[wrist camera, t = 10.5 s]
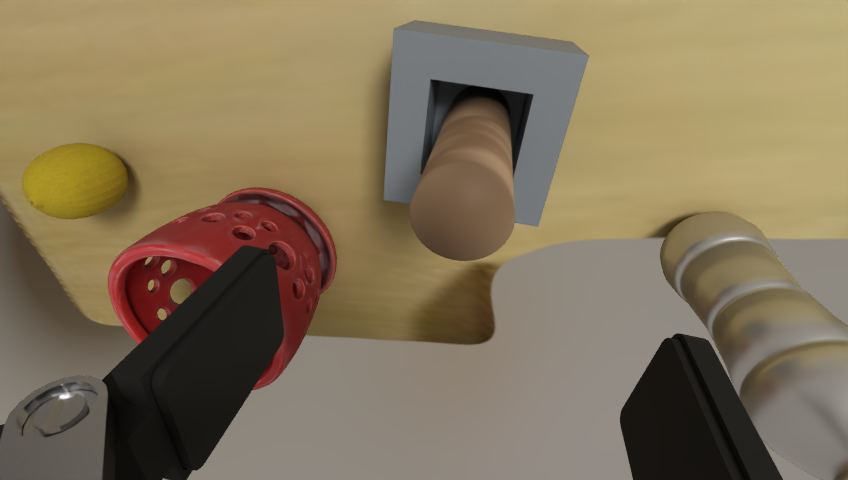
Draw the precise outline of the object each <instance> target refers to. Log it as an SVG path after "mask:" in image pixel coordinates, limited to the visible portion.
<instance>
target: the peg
mask: <svg viewBox="0 0 848 480" xmlns="http://www.w3.org/2000/svg"><path fill="white" fill-rule="evenodd" d="M410 221H411V224H412V227H413V230H414V232H415V234H416V236H417V237H418V238H419V240H420V241H421V242H422V243H423V244H424V245H425V246H426V247H427V248H428V249H430V250H431V251H432V252H434V253H436V254H438V255H440V256H442V257H445V258H448V259H452V260H459V261H470V260H476V259H480V258H484V257H486V256H488V255H491V254H492V253H494V252H496V251H497V250H498V249H499V248H501V247H502V246H503V245H504V244H505V242H506V241H507V240H508V238H509V236H510V235H511V233H512V230H513V227H514V222H515V208H514V187H513V167H512V147H511V127H510V110H509V105H508V103H507V100H506V99H505V97H504V96H503V95H502V94H501V93H500V92H499V91H498V90H497V89H494V88H487V87H481V86H474V85H473V86H470V87H467V88H465V89H464V90H462V91H461V92H460V93H459V94H458V95H457V96H456V97H455V99H454V100H453V102H452V104H451V106H450V109H449V111H448V114H447V116H446V118H445V121H444V123H443V126H442V128H441V131H440V133H439V135H438V138H437V140H436V143H435V145H434V147H433V150H432V152H431V155H430V157H429V159H428V162H427V164H426V167H425V169H424V171H423V174H422V176H421V179H420V181H419V184H418V186H417V188H416V191H415V193H414V196H413V198H412V201H411V205H410Z"/></svg>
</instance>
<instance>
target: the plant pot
mask: <svg viewBox="0 0 848 480" xmlns="http://www.w3.org/2000/svg"><path fill="white" fill-rule="evenodd" d="M243 245H249V246H254V247H259V248H264V249H267V250H268V251H269V252H270V256H273V257H274V258H275V259H276V266H277V274H278V283H279V292H280V301H281V310H282V318H283V327H284V338H283V342H282V344H281V346H280V348H279V349H278V351H277V352H276V354H275V356H274V357H273V359H272V360H271V362H270V363H269V365H268V366H267V368H266V369H265V371H264V372H263V374H262V376H261V377H260V379H259V380H258V382H257V383H256V385H255V386H254V388H253V389H252V390H256V389H259V388H262V387H264V386H267V385H269V384H270V383H272V382H273V381H275V380H276V379H277V378H278V377H279V376H280V374H281V373H282V372H283V370H284V369H285V368H286V367H287V365H288V364H289V362H290V361H291V359H292V358H293V356H294V355H295V353H296V351H297V350H298V348H299V346H300V344H301V342H302V340H303V338H304V337H305V334H306V332H307V330H308V327H309V325H310V322H311V320H312V317H313V315H314V312H315V310H316V307H317V304H318V300H319V296H320V294H321V293H323V292H324V291H325V290H326V289H327V288H328V286H329V285H330V284H331V282H332V280H333V278H334V275H335V271H336V251H335V246H334V243H333V240H332V237H331V235H330V233H329V231H328V229H327V228H326V226H325V224H324V223H323V222H322V220H321V219H320V218H319V217H318V215H317V214H316V213H315V212H314V211H313V210H311V209H310V208H309V207H308V206H307V205H305V204H304V203H303V202H301V201H300V200H298V199H296V198H294V197H293V196H291V195H289V194H286V193H283V192H281V191H277V190H273V189H268V188H246V189H241V190H238V191H235V192H233V193H231V194H229V195H228V196H226V197H225V198H224V199H222V200H221V201H220V202H219V203H218V204H217V205H212V206H209V207H205V208H202V209H199V210H196V211H193V212H191V213H188V214H186V215H184V216H182V217H179V218H177V219H175V220H173V221H172V222H170V223H168V224H166V225H164V226H162V227H160V228H158V229H156V230H155V231H153V232H151V233H150V234H148V235H146V236H145V237H143V238H142V239H140V240H139V241H137V242H136V243H134V244H133V245H131V246H130V247H128V248H127V249H125V250H124V251H123V252H122V253H120V254H119V256H118V257H117V258H116V259H115V260H114V262H113V264H112V266H111V268H110V271H109V276H108V290H109V295H110V299H111V302H112V305H113V308H114V310H115V312H116V315H117V316H118V318H119V320H120V321H121V323H122V325H123V326H124V328H125V329H126V330H127V332H128V333H129V334H130V336H131V337H132V338H133V339H134V340H135V341H136V342H137V343H138V345H139V344H140V343H141V342H142V341H143V340H144V339H145V338H146V337H147V336H148V335H149V334H150V333H151V332H152V331H153V330H154V329H155V328H156V327H157V326H159V325H160V324H161V323H162V322H163V321H164V320H160V319H159V318H158V315H157V312H158V310H159V309H160V308H162V309H164V310H165V311H166V313H167V317H168V316H169V315H170V314H171V313H172V312H173V311H174V310H175V309H176V308H177V307H178V306H179V305H180V304H177V303H175V302H174V301H173V300H172V298H171V296H170V289H171V286H172V284H173V283H174V282H175V281H177V280H178V279H183V278H184V279H186V280H187V281H188V282H189V283H190V285H191V289H192V292H191V294H192V293H193V292H194V291H195V290H196V289H197V288H198V287H199V286H200V285H201V284H202V283H203V282H204V281H205V280H206V279H208V278H209V277H210V276H211V275H212V274H213V273H214V272H215V271H216V270H217V269H218V268H219V267H220V266H221V265H222V264H223V263H224V262H225V261H226V260H227V259H228V258H229V257H230V256H231V255H233V254H234V253H235V252H236V251H237V250H238V249H239V248H240V247H241V246H243ZM148 257H153V258H152V260H151V261H150V262H149V263H148V264H146V265H145V261H146V259H147V258H148ZM167 260H171V267H170V269H169V270H168V271H167V272H166V273H164V274H162V271H161V267H162V264H163V263H164V262H165V261H167ZM152 279H153V280H154V287H153V289H152V290H151V291H149V290H148V283H149V281H150V280H152ZM167 317H166V318H167Z"/></svg>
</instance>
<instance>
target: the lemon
mask: <svg viewBox="0 0 848 480" xmlns="http://www.w3.org/2000/svg"><path fill="white" fill-rule="evenodd" d="M127 185H128V174H127V170H126V168H125V166H124V164H123V163H122V161H121V160H120V159H119V158H118V157H117V156H116V155H115V154H114V153H112V152H110V151H109V150H107V149H105V148H103V147H100V146H97V145H93V144H87V143H75V144H67V145H62V146H59V147H56V148H53V149H51V150H49V151H47V152H45V153H43V154H42V155H40V156H38V157H37V158H36V159H34V160H33V161H32V162H31V163H30V164H29V165H28V167H27V168H26V169H25V171H24V173H23V178H22V189H23V192H24V195H25V197H26V199H27V200H28V203H29V204H30V205H31V206H33V207H35V208H36V209H37V210H39V211H41V212H42V213H45V214H47V215H49V216H52V217H56V218H60V219H78V218H83V217H88V216H92V215H95V214H98V213H100V212H102V211H104V210H106V209H108V208H109V207H111V206H112V205H114V204H115V203H116V202H118V201H119V200H120V198H121V197H122V196H123V194H124V193H125V191H126V189H127Z"/></svg>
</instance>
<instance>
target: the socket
mask: <svg viewBox="0 0 848 480" xmlns="http://www.w3.org/2000/svg"><path fill="white" fill-rule="evenodd" d="M588 57H589V55H588V54H586V53H585V52H584V51H583V50H581V49H580V48H579V47H578V46H577V45H575V44H574V43H573V42H569V41H562V40H555V39H547V38H540V37H532V36H525V35H518V34H510V33H503V32H496V31H488V30H481V29H474V28H466V27H459V26H452V25H444V24H437V23H430V22H422V21H412V22H409V23H407V24H404V25H402V26H399V27H397V28H394V32H393V49H392V65H391V82H390V99H389V115H388V132H387V149H386V165H385V182H384V198H383V200H387V201H393V202H399V203H404V204H410V205H411V201H412V198H413V196H414V193H415V191H416V188H417V186H418V184H419V181H420V179H421V176H422V174H423V171H424V169H425V167H426V164H427V162H428V159H429V157H430V155H431V152H432V150H433V147H434V145H435V143H436V140H437V138H438V135H439V133H440V131H441V128H442V126H443V123H444V121H445V118H446V116H447V114H448V111H449V109H450V106H451V104H452V102H453V100H454V99H455V97H456V96H457V95H458V94H459V93H460V92H461V91H462V90H464V89H465V88H467V87H470V86H473V85H474V86H481V87H487V88H494V89H497V90H498V91H499V92H500V93H501V94H502V95H503V96H504V97H505V99H506V100H507V103H508V105H509V110H510V127H511V147H512V167H513V187H514V208H515V222H514V223H520V224H525V225H531V226H537V227H538V225H539V221H540V218H541V215H542V211H543V208H544V205H545V201H546V198H547V195H548V191H549V188H550V185H551V181H552V178H553V174H554V171H555V168H556V164H557V161H558V158H559V154H560V151H561V148H562V144H563V141H564V138H565V134H566V131H567V127H568V124H569V121H570V117H571V114H572V111H573V107H574V104H575V101H576V97H577V94H578V91H579V87H580V84H581V80H582V77H583V74H584V70H585V67H586V64H587V60H588Z"/></svg>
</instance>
